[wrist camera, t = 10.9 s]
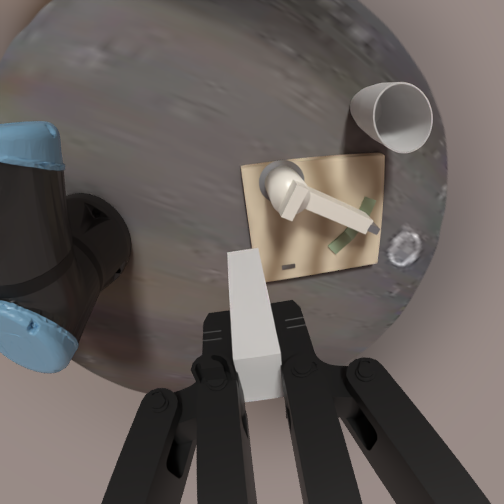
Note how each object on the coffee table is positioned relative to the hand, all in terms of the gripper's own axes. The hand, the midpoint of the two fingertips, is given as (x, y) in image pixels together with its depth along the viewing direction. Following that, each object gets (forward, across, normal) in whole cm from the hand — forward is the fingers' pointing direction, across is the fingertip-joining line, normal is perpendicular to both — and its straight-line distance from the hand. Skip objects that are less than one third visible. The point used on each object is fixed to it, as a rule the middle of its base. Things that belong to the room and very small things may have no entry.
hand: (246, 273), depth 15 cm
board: (+26, +11, -10) cm, 30 cm away
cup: (+27, +19, +5) cm, 33 cm away
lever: (+24, +11, -7) cm, 28 cm away
